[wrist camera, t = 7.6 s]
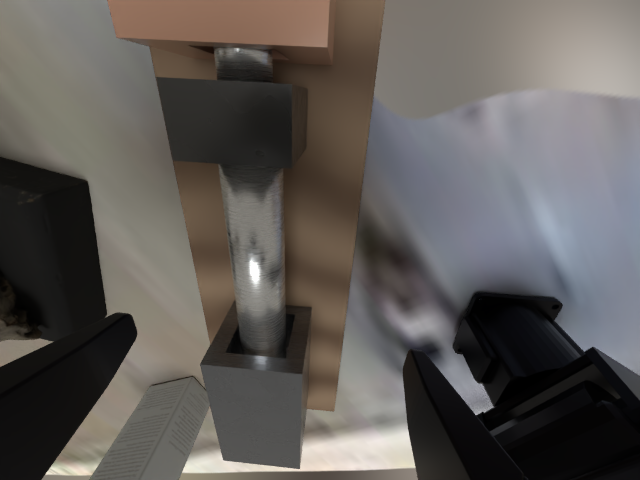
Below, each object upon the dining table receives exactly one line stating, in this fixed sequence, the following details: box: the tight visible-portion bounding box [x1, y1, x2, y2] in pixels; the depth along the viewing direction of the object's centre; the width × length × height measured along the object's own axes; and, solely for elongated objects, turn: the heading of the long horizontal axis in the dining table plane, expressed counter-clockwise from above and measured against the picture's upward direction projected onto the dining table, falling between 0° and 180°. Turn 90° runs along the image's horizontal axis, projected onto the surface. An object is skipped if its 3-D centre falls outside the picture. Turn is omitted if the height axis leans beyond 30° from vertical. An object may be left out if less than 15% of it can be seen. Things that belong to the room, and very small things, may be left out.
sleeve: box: [200, 300, 312, 469], centre depth 22 cm, size 12×6×6 cm, turn 177°
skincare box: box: [89, 377, 210, 480], centre depth 25 cm, size 6×4×12 cm
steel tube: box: [156, 47, 308, 359], centre depth 16 cm, size 21×5×5 cm, turn 177°
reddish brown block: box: [107, 0, 336, 65], centre depth 11 cm, size 3×7×6 cm, turn 87°
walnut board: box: [150, 0, 385, 411], centre depth 21 cm, size 35×12×1 cm, turn 177°
